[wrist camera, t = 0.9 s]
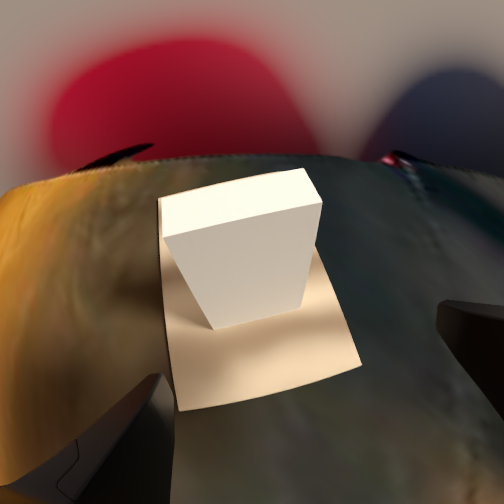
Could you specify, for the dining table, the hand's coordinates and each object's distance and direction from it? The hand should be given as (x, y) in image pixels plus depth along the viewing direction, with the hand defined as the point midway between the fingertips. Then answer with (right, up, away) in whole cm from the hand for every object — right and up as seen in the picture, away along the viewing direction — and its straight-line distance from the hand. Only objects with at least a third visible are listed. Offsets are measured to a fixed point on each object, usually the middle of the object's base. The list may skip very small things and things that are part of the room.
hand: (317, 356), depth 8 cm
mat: (-3, +2, +17) cm, 18 cm away
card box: (-2, -1, +15) cm, 15 cm away
